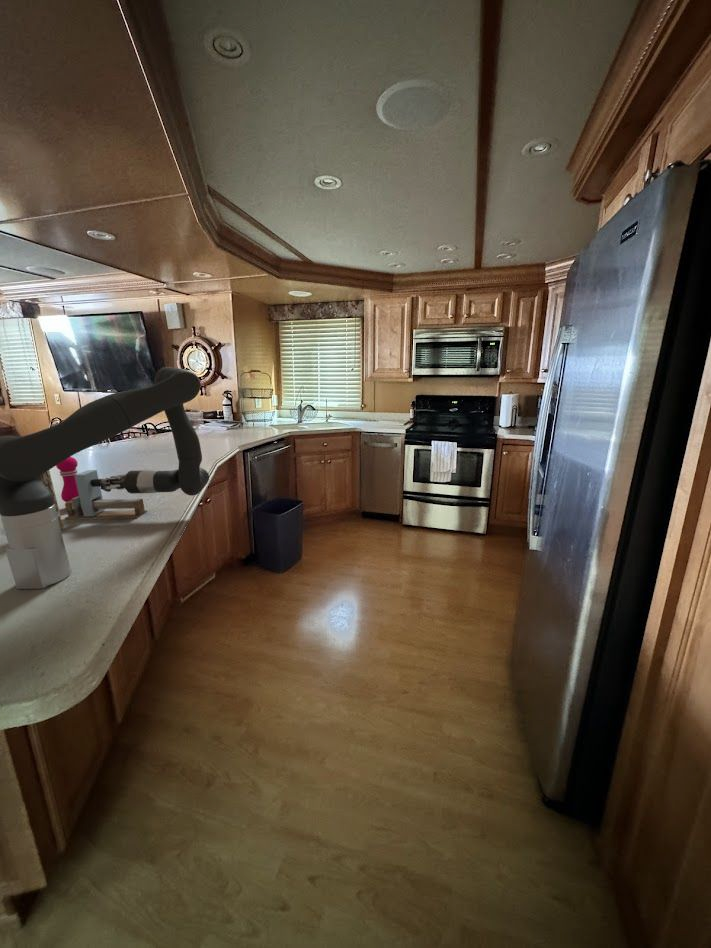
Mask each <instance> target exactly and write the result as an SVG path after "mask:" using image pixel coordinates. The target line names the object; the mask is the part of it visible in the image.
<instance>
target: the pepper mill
mask: <svg viewBox="0 0 711 948" xmlns="http://www.w3.org/2000/svg"><path fill="white" fill-rule="evenodd" d="M78 465H79V464H78V460H77V459H76V458H74V457H73V456H71V457H69V458H67V459H66V460H64V461H62V462H61V463H59V464H58V465H56V466H55V467H56V468H57V469H58V470H59V475H60V476H61V477H62V480H63V485H62V486H63V487H62V490H61V494H60V497H61V500H62V501H64V502H65V503H66V502H68V501H71V500H72V499H73V498H75V497H77V496H79V493H78V488H77V484H76V479H75V475H76V474H79V472H78V469H77V467H78ZM65 503H64V506H65V510H67V508H66V504H65Z"/></svg>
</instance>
